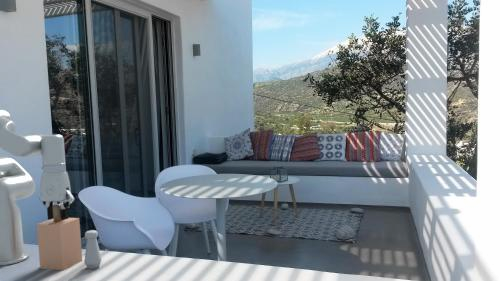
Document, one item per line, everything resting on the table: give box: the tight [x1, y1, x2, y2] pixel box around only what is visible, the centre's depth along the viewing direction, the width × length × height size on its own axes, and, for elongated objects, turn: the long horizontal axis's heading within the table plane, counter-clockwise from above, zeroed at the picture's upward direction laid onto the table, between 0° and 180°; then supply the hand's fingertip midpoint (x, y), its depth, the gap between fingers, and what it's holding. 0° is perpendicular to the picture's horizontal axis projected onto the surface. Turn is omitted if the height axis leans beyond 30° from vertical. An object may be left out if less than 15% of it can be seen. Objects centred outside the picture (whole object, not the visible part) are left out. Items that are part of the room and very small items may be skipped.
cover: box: [36, 203, 83, 271], centre depth 159 cm, size 10×10×22 cm
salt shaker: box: [83, 229, 103, 270], centre depth 155 cm, size 6×6×13 cm
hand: (58, 218), depth 158 cm, fingers open, 5 cm apart
